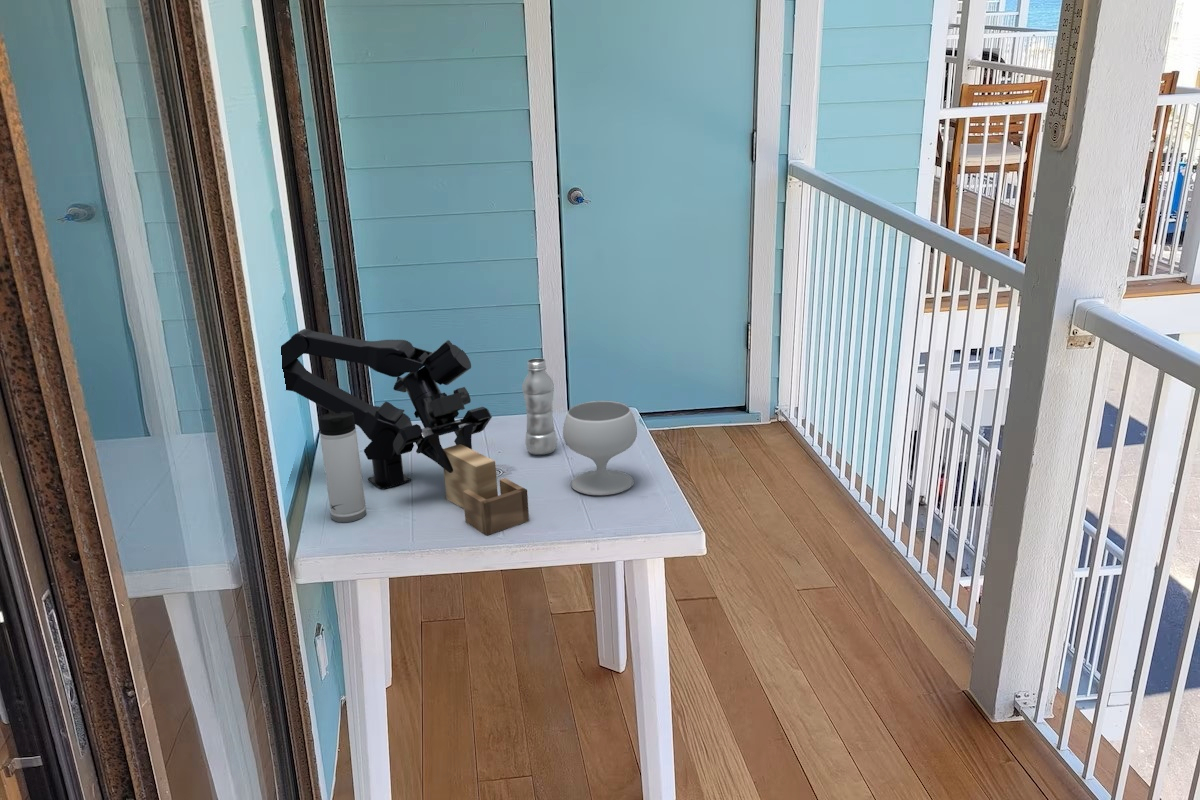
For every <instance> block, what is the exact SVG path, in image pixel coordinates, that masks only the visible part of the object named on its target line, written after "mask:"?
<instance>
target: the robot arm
mask: <svg viewBox="0 0 1200 800" xmlns="http://www.w3.org/2000/svg"><path fill="white" fill-rule="evenodd" d="M280 346H281V355H282V369H283V372H284V378H285V384H286V390H285V391H290V392H294V393H296V394H297V395H300V396H302V397H303V398H305V399H308V400H309V401H311V402H313V404H317V405H319V406H320V407H322V408H324V409H326V410H328V411H329V412H332V414H335V413H341V412H353V413H354V420H355V423H354V424H355V426H357V427H359V428H360V429H361V431H362V432H363V433H364V435H365V436H366V438H367V439H369V440H370V443H369V444H368V445H367V446H366V447H365V448H364V449H363V453H364V455H365V456H366V458H367V460H369V461H371V462H372V463H371V464H372V469H373V470H372V471H373V475H372V476H369V477H367V481H368V482H369V483H371V484H373V485H374V486H375V487H377V488H379V489H380V490H385V489H387V488H392V487H394V486H395V487H396V486H399V485H401V484H405V483H408V482H411V480H412V479H411V477H410V476H409V475H406V474H405V473H404V466H403V458H402V455H403V454H407V453H411V452H412V451H413V450H414V447H415V445H416V446H417V448H416V450H415V452H416V453H417V455H418V454H422V455H424V456H426V457H427V458H429V459H430V460H432V461H433V462H434V463H436V464H437V465H438V466H440V467H441V468H442V469H443V470H444V469H445V470H446V471H448V472H449V473H452V472H453V468H452V466H451V463H450V461H449V459H448V457H447V455H446V454H445V452H444V450H443V449H444V448H443V446H442V444H441V439H440V436H443V435H447V434H451V433H453V432H454V434H455V436H456V437H455V439H454V443H455V445H458V444H462V445H464V446H466V447H468V448H470V449H472V450H473V447H472V446H473V445H472V437H473V436H472V435H475V434H478V433H481V432H482V431H484V430H485V429H486V427H487V425H488V424H489V423H490V421H491V419H492V418H493V416H492V413H491V412H490V410H489V408H488V407H487V408H486V407H485V406H479V407H476V408H473V409H469V410H467V411H466V413H465V414H464V416H463V418H459V419H456V420H455V418H457V417H458V416H459V414H460V413H459V411H461V410H465V409H466V408H465V406H466V405H468V404H470V403H471V402H472V401H471V396H470V393H469V391H468V390H467V388H466V386H462V387H460V388H456V389H454V390H453V393H452V394H449V395H447V393H446V392H442V391H441V390H440V388H439V386H438V385H440V386H441V385H444V386H448V385H450V384H451V383H453V382H454V381H456V380H457V379H459V377H461V376H463V375H464V374H465V373H467V372H468V371H469V370H471V368H472V363H471V360H470V357H469V356H468V355H467V353H466V352H465V351H464V350H463V349H461V348H460V347H459V346H458V345H456V344H453V343H452V342H451V341H450V340H449V339H447V340H446V341H444V342H443V343H442V344H441V346H439V347H438V348H436V350H433V352H431V351H428V350H427V349H426V350H425V349H422V348H420V347H415V346H414V345H413V344H412V343H411V342H410V341H408V340H405V339H383V340H382V339H381V340H380V339H379V340H364V339H359V338H352V337H347V336H342V335H335V334H330V333H325V332H319V331H314V330H312V329H309V328H303V329H301V330H299V331H297V332H296V333H295V334H293V335H292V336H291V337H290V339H288V340H286V342H284V343H283V344H282V345H280ZM304 354H305V355H309V356H310V355H312V356H318V357H322V358H328V359H333V360H339V361H345V362H351V363H354V364H355V363H356V364H361V365H364V366H367V367H369V368H370V369H372V370H373V371H375V372H377V373H380V374H383V375H386V376H388V377H392V378H396V381H395V383H394V385H393V391H396V392H400V393H407V395H408V397H409V399H410V401H411V403H412V405H413V407H414V410H415V411H414V413H413V414H414V416H415V419H417V418H419V420H420V422H421V424H422V425H423V428H421V425H419V424H413V423H412V420H411V418H410V417H409V415H407V414H406V413H405V409H401V408H398V407H396V406H394V405H393V404H392V403H391V402H389V401H384V402H383V403H382V404H381V405H380V406H377V405H371V404H369V402H366V401H364V400H362V399H360V398H359V397H357V396H354V395H353V394H351V393H349V392H348V391H345V390H343V389H342V388H340V387H338V386H336V385H334V384H332V383H330V382H329V381H327V380H325V379H323V378H321V377H319V376H318V375H316V374H314V373H312V372H310V371H308V370H307V369H306V367H304V365H303V364H302V363H301V361H300V360H299V358H300V357H302V355H304ZM404 374H406V375H405V376H403V375H404ZM401 376H403V377H401ZM414 443H415V444H414Z"/></svg>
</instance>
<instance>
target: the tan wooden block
mask: <svg viewBox="0 0 1200 800" xmlns="http://www.w3.org/2000/svg"><path fill="white" fill-rule="evenodd" d="M443 450H444V452H445V454H446V455H447V457H448V459H449V461H450V463H451V466H452V468H453V472H452V473H449V472H448V471H446V470H445V469H444V468H443V475H444V486H445V497H446V500H448V501H449V502H451V503H453V504H455V505H456V506H458V507H460V508H461V509H463V510H464V499H463V491H465V490H471V491H472V492H474V493H476V494H477V495H479V496H481V497H483V498H484V499H486V500H487V499H490V498H493V497H496V496H499V492H498V482H497V481H498V480H497V479H498V478H497V470H496V469H497V468H496V461H495V460H494V459H493V458H490V457H488V456H486V455H484V454H482V453H479V452H477V451H476V450H474V449H473V448H472V449H470V448H468V447H466V446H464V445H462V444H458V445H456V444H455V445H452V446H448V447H445V448H443Z"/></svg>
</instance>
